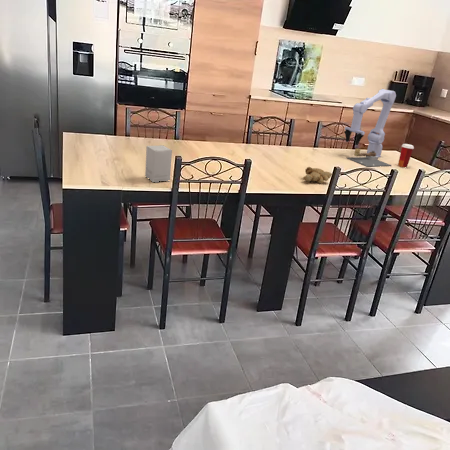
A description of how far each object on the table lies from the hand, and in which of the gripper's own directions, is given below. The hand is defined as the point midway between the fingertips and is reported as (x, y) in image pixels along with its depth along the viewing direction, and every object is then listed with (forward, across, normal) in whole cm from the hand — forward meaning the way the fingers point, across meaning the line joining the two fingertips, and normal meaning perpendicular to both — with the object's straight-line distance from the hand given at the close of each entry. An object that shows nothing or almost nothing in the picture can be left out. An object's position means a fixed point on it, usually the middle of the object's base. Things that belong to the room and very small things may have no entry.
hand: (351, 143), depth 293 cm
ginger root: (+10, +30, -66) cm, 73 cm away
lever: (+6, +8, +6) cm, 12 cm away
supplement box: (+9, +4, -146) cm, 146 cm away
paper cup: (+10, +27, +22) cm, 36 cm away
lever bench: (+9, +13, +4) cm, 17 cm away
